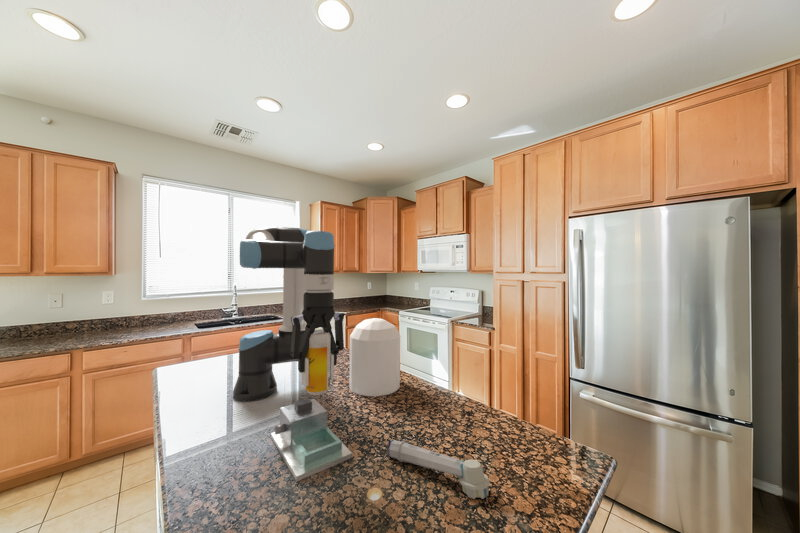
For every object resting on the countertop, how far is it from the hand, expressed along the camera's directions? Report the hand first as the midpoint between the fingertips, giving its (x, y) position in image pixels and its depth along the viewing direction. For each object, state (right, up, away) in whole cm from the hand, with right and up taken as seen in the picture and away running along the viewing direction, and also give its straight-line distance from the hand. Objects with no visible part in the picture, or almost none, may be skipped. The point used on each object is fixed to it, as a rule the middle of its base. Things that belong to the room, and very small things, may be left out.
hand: (317, 381), depth 75 cm
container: (+11, -20, +46) cm, 51 cm away
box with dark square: (-3, -19, +3) cm, 20 cm away
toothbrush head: (+29, -19, -7) cm, 36 cm away
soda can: (0, -3, 0) cm, 3 cm away
